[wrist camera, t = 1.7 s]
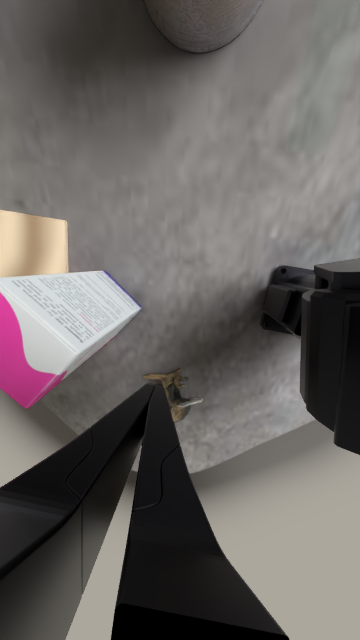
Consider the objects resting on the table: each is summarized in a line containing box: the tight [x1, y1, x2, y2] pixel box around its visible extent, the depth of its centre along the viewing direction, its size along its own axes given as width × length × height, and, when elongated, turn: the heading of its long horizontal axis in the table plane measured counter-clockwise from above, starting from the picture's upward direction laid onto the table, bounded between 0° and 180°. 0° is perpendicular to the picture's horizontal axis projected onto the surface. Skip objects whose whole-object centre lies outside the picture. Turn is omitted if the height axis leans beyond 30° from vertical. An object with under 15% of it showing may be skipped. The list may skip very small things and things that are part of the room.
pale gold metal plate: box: [0, 210, 68, 277], centre depth 21 cm, size 9×14×1 cm, turn 171°
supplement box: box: [0, 271, 142, 408], centre depth 15 cm, size 6×6×12 cm
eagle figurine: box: [140, 368, 203, 446], centre depth 21 cm, size 8×7×9 cm
